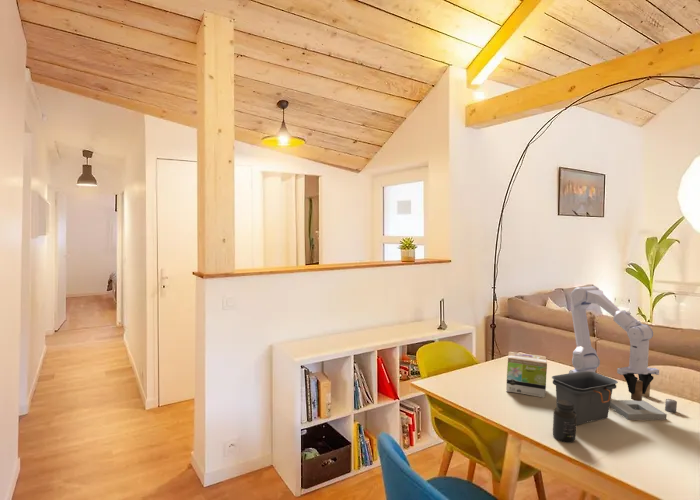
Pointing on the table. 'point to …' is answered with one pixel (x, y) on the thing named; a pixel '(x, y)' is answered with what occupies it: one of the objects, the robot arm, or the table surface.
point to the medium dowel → (647, 392)
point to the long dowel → (637, 391)
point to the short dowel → (670, 405)
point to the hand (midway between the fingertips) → (636, 392)
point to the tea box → (526, 374)
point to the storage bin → (586, 394)
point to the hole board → (642, 413)
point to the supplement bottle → (564, 421)
